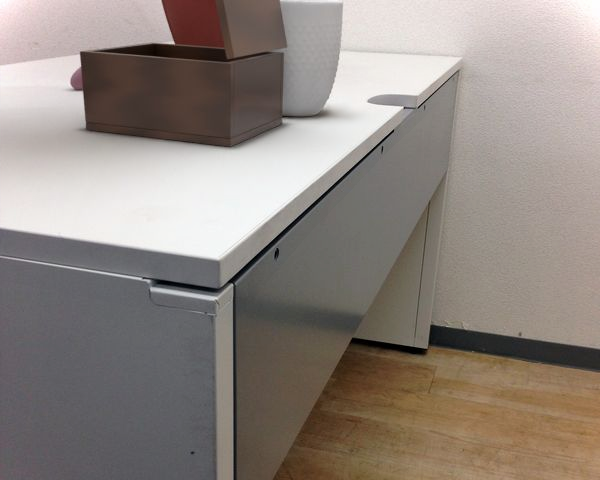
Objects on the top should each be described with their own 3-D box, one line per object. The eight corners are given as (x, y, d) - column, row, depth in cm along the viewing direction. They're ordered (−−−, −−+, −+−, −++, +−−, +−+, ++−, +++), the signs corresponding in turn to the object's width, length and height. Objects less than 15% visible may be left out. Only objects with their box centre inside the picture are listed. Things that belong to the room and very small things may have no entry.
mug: (233, 100, 97) (233, -5, 92) (311, 99, 100) (316, -3, 95) (261, 120, 84) (263, -1, 79) (350, 119, 87) (357, 2, 82)
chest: (85, 129, 76) (79, 51, 72) (154, 110, 88) (152, 42, 85) (230, 146, 71) (230, 63, 68) (282, 123, 83) (284, 52, 80)
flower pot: (154, 68, 126) (150, -39, 119) (212, 60, 141) (211, -35, 135) (251, 78, 118) (252, -35, 111) (301, 68, 134) (304, -32, 127)
